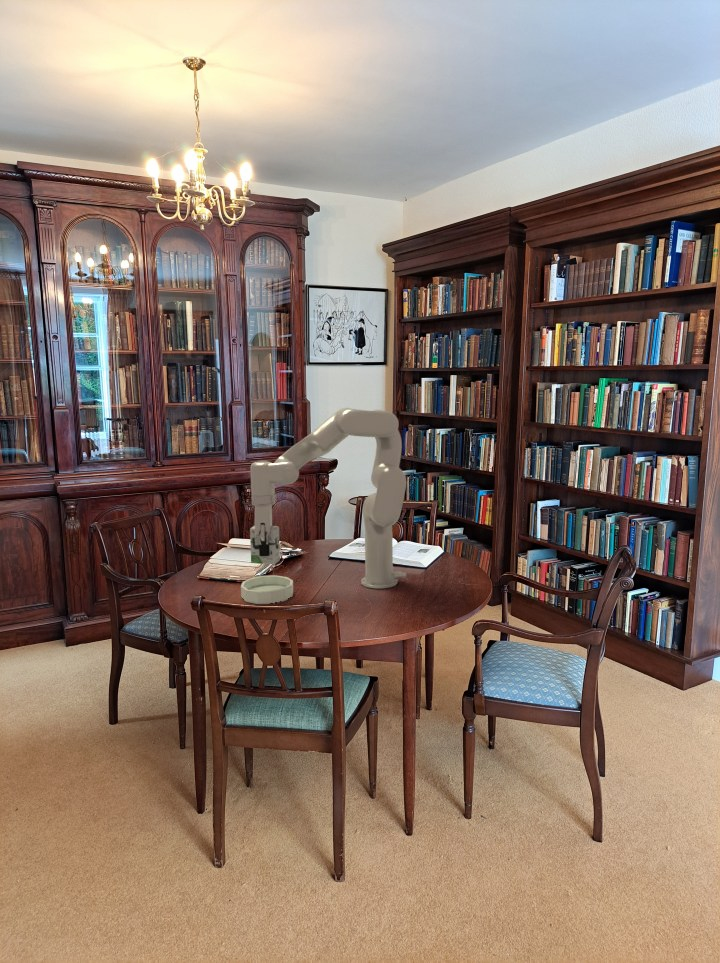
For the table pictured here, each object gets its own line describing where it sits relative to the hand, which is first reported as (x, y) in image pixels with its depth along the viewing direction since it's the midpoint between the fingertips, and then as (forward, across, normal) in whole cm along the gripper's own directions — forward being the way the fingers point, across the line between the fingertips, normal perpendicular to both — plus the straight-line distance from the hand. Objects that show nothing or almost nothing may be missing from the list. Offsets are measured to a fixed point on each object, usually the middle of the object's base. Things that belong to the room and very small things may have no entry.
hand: (265, 552), depth 212 cm
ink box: (+3, 0, 0) cm, 3 cm away
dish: (+15, 0, 0) cm, 15 cm away
